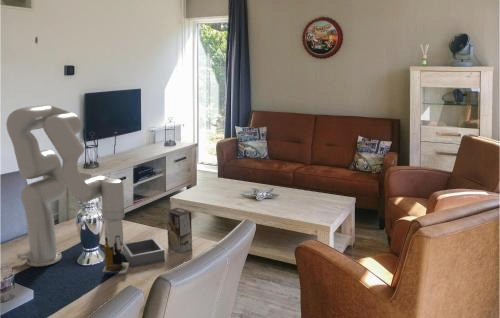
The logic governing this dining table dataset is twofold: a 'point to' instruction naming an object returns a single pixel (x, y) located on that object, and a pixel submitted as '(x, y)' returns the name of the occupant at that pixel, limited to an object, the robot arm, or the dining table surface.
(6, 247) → the dining table surface
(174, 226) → the coffee box
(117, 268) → the condiment
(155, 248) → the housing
